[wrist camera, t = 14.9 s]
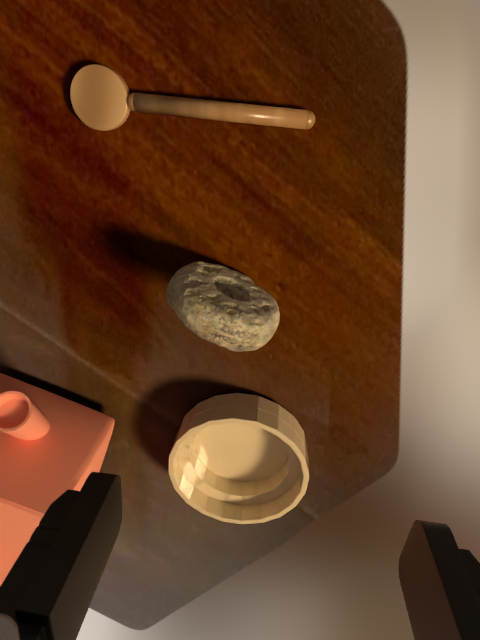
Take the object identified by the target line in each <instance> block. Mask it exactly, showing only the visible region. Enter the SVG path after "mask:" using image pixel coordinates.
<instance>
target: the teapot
mask: <svg viewBox="0 0 480 640" xmlns="http://www.w3.org/2000/svg"><path fill="white" fill-rule="evenodd" d="M114 423H115V420H114V418H112V417H110V416H108V415H105V414H103V413H101V412H98V411H96V410H93V409H91V408H89V407H86V406H84V405H81V404H79V403H76V402H74V401H71V400H69V399H66V398H64V397H61V396H59V395H56V394H54V393H51V392H49V391H46V390H43V389H41V388H38V387H36V386H33V385H31V384H28V383H25V382H23V381H20V380H18V379H15V378H12V377H10V376H7V375H4V374H2V373H0V586H1V585H2V583H3V581H4V580H5V578H6V576H7V575H8V573H9V572H10V570H11V568H12V567H13V565H14V563H15V562H16V560H17V558H18V557H19V555H20V554H21V552H22V550H23V549H24V547H25V545H26V544H27V542H29V540H30V537H31V536H32V534H33V532H34V531H35V529H36V527H38V526H39V522H40V521H41V519H42V518H43V516H44V514H45V513H46V511H47V509H48V508H49V506H50V504H51V503H53V502H54V501H55V500H56V499H57V498H58V497H60V496H61V495H62V494H63V493H64V492H65V491H67V490H68V489H69V490H76V491H80V490H81V488H82V486H83V485H84V483H85V481H86V479H87V478H88V476H89V474H90V473H91V472H99V471H100V468H101V466H102V463H103V460H104V457H105V454H106V451H107V448H108V444H109V441H110V438H111V435H112V431H113V428H114Z"/></svg>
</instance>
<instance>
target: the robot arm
mask: <svg viewBox="0 0 480 640" xmlns="http://www.w3.org/2000/svg"><path fill="white" fill-rule="evenodd" d="M121 520H122V496H121V478H120V476H119V475H113V474H107V473H100V472H91V473H90V474H89V476H88V478H87V479H86V481H85V483H84V485H83V486H82V488H81V490H80V491H76V490H69V489H68V490H67V491H65V492H64V493H63V494H62V495H61V496H60V497H58V498H57V499H56V500H55V501H54V502H53V503H51V504H50V506H49V508H48V509H47V511H46V513H45V514H44V516H43V518H42V519H41V521H40V522H39V526H38V527H36V529H35V531H34V532H33V534H32V536H31V537H30V540H29V542H27V544H26V545H25V547H24V549H23V550H22V552H21V554H20V555H19V557H18V558H17V560H16V562H15V563H14V565H13V567H12V568H11V570H10V572H9V573H8V575H7V576H6V578H5V580H4V581H3V583H2V585H1V586H0V640H76V638H77V635H78V633H79V630H80V628H81V625H82V623H83V620H84V618H85V615H86V613H87V610H88V608H89V606H90V603H91V601H92V598H93V596H94V593H95V591H96V588H97V586H98V583H99V581H100V578H101V576H102V573H103V571H104V568H105V566H106V563H107V561H108V558H109V556H110V553H111V551H112V549H113V546H114V544H115V541H116V539H117V536H118V533H119V529H120V525H121ZM399 578H400V583H401V587H402V591H403V595H404V599H405V603H406V607H407V611H408V615H409V619H410V623H411V627H412V631H413V635H414V639H415V640H480V563H479V562H478V561H477V559H476V558H475V557H474V556H473V555H472V553H471V552H470V551H469V550H464V549H458V546H457V544H456V541H455V539H454V536H453V534H452V532H451V530H450V528H449V527H448V526H447V525H446V524H441V523H434V522H427V521H420V520H416V521H415V522H414V523H413V525H412V528H411V530H410V533H409V535H408V538H407V540H406V543H405V545H404V547H403V550H402V552H401V555H400V559H399Z"/></svg>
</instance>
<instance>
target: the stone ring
mask: <svg viewBox="0 0 480 640" xmlns="http://www.w3.org/2000/svg"><path fill="white" fill-rule="evenodd" d="M166 299H167V302H168V304H169V306H170V307H171V308H172V309H173V311H175V313H176V315H177V316H178V318H179V319H180V320H181V322H182V323H183V324H184V325H185V326H186V327H187V328H188V329H189V330H191V331H192V332H194V333H195V334H196V335H198V336H199V337H200V338H202V339H204V340H207V341H208V342H211V343H215V344H217V345H218V346H220V347H224V348H226V349H228V350H231V351H235V352H239V351H253V350H256V349H258V348H261V347H262V346H264V345H265V344H266V343H267V342H268V341H269V340H270V339H271V338H272V336H273V334H274V333H275V331H276V329H277V327H278V324H279V320H280V313H279V307H278V305H277V303H276V301H275V299H274V298H273V297H272V296H271V295H270V294H269V293H267V292H265V291H264V290H263V289H262V288H261V287H259V286H256V285H255V284H254V282H253V281H252V279H250V278H249V277H248V276H246V275H244V274H242V273H240V272H238V271H235V270H231V269H228V268H227V267H225V266H222V265H219V264H211V263H206V262H203V261H197V262H194V263H191V264H188V265H186V266H184V267H182V268H180V269H179V270H178V271H177V272H176V273H175V275H173V277H172V278H171V280H170V282H169V285H168V287H167V291H166Z"/></svg>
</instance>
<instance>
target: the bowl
mask: <svg viewBox="0 0 480 640" xmlns="http://www.w3.org/2000/svg"><path fill="white" fill-rule="evenodd" d="M168 473H169V476H170V478H171V481H172V484H173V486H174V489H175V490H176V491H177V492H178V494H179V495H180V496H181V497H182V498H183V499H184V501H185V502H186V503H187V504H189V505H190V506H192V507H193V508H195V509H196V510H198V511H199V512H201V513H203V514H204V515H207V516H210V517H212V518H215V519H217V520H220V521H224V522H231V523H238V524H251V523H263V522H266V521H269V520H272V519H275V518H278V517H281V516H282V515H284V514H285V513H287V512H288V511H290V510H291V509H293V508H294V507H295V506H296V505H297V504H298V503H299V501H300V500H301V498H302V497H303V496H304V494H305V493H306V489H307V485H308V480H309V466H308V452H307V444H306V439H305V434H304V431H303V429H302V428H301V426H300V425H299V423H298V422H297V420H296V419H295V417H294V416H293V415H292V414H290V413H289V412H288V411H287V410H285V409H284V408H283V407H282V406H280V405H279V404H277V403H275V402H272V401H270V400H267V399H265V398H263V397H260V396H257V395H250V394H242V393H231V394H224V395H216V396H214V397H211V398H209V399H207V400H204V401H202V402H200V403H198V404H197V405H196V406H195V407H193V408H192V409H191V410H190V411H189V412H188V413H187V414H186V415H185V416H184V418H183V420H182V423H181V425H180V427H179V429H178V432H177V434H176V437H175V440H174V443H173V446H172V449H171V452H170V455H169V469H168Z"/></svg>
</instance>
